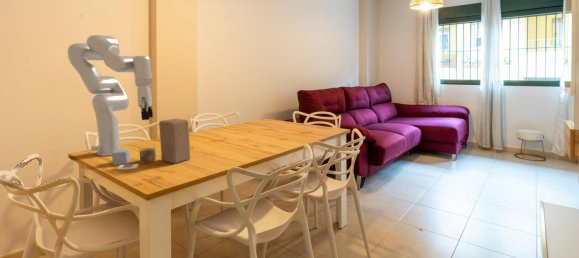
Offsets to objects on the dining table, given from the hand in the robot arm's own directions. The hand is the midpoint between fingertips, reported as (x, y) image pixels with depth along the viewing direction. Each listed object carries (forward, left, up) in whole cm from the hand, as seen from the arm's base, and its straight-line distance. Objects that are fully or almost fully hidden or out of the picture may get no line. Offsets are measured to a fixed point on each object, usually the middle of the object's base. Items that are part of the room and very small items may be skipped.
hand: (147, 118), depth 155 cm
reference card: (-8, -10, -21) cm, 25 cm away
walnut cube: (-1, -2, -21) cm, 21 cm away
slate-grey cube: (-13, -2, -21) cm, 25 cm away
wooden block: (+12, -3, -21) cm, 25 cm away
